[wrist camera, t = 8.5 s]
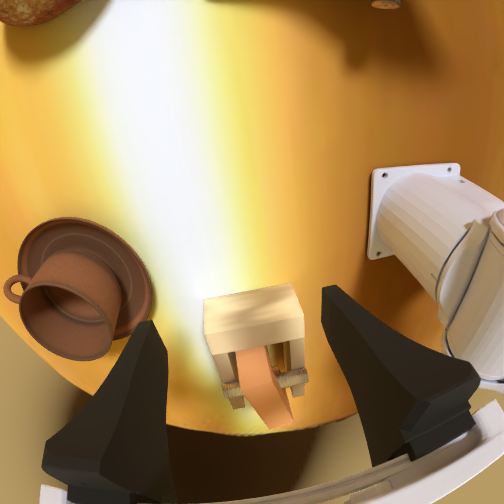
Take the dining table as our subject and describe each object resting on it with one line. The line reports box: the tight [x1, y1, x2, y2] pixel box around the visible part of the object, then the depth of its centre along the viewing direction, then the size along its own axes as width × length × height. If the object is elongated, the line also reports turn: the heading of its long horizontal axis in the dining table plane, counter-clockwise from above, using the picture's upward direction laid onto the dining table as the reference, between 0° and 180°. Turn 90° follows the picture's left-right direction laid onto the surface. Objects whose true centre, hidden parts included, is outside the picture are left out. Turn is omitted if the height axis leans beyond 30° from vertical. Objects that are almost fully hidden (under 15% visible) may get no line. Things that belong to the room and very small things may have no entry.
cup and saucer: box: [4, 217, 152, 361], centre depth 19 cm, size 12×12×6 cm
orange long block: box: [235, 346, 294, 429], centre depth 25 cm, size 2×8×6 cm, turn 18°
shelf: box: [203, 283, 309, 409], centre depth 26 cm, size 7×12×5 cm, turn 8°
